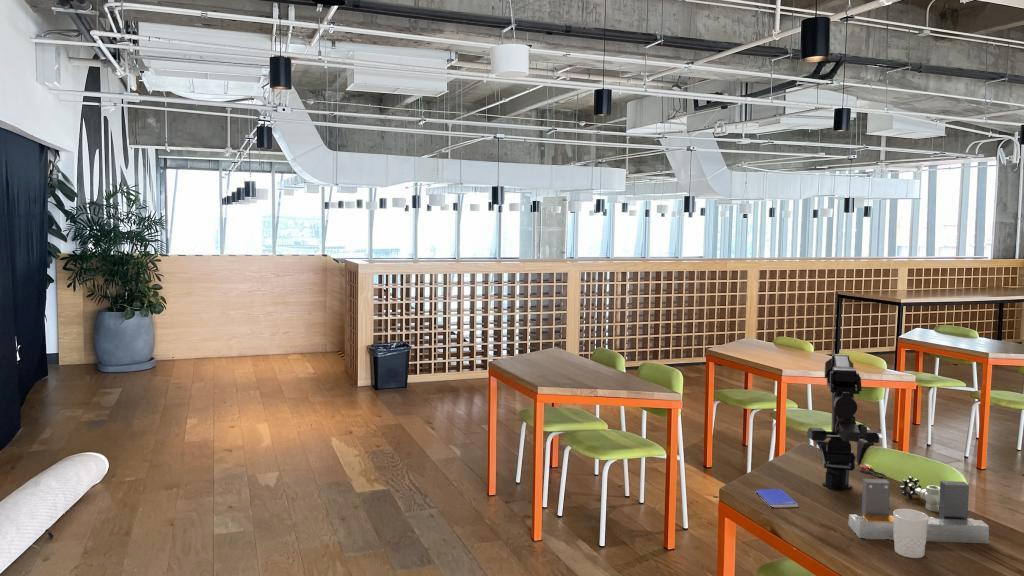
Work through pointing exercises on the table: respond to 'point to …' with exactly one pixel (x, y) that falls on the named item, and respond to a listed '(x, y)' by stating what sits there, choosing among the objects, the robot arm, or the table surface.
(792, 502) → the hard drive
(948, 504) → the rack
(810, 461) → the table surface
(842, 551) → the table surface
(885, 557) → the table surface
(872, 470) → the composite cable
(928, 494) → the valve
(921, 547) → the white cup
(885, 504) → the grey rectangular block
